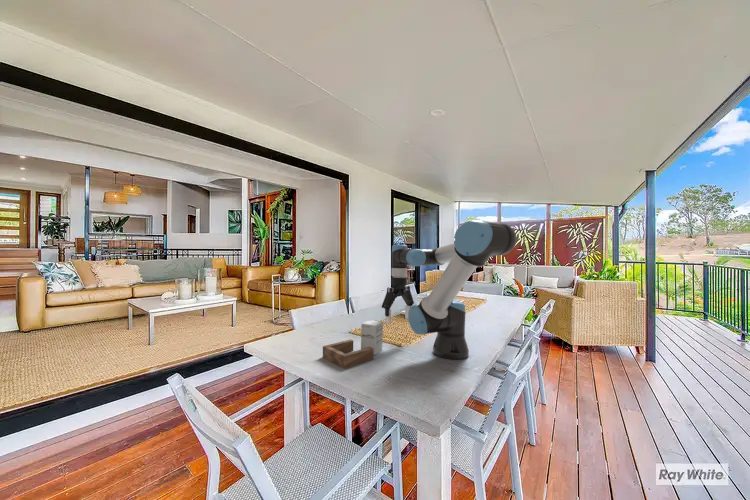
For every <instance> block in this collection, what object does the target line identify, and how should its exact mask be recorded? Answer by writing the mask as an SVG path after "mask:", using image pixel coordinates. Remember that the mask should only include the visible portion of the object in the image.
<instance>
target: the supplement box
mask: <svg viewBox="0 0 750 500" xmlns="http://www.w3.org/2000/svg"><path fill="white" fill-rule="evenodd" d="M360 327H361V328H360V329H361V333H360V334H361V336H360V350H361V349H365V348H368V347H371V348H373V356H374V355H377V354H378V353H380V352H382V351H383V339H384V338H383V336H384V335H383V334H384V333H383V330H384V322H383V321H376V320H366V321H364V322H362V323H361V326H360Z"/></svg>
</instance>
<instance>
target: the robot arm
mask: <svg viewBox="0 0 750 500" xmlns="http://www.w3.org/2000/svg"><path fill="white" fill-rule="evenodd" d="M453 239H454V240H453V243H450V244H447V245H444V246H441V247H440V246H439V247H437V248H433V249H428V248H427V249H425V248H424V249H423V248H422V249H420V248H408V245H407V244H393V245H392V246H391V275H390V276H391V278H390V284H391V287H387V288H386V293H385V296H384V299H383V301H382V305H381V308H382V309H384V315H385V323H386V324H390V325H391V323H392V309H391V308H392V306H393V304H394V302H395V300H396V299H397V298H398V297H401V298H402V299H403V301H404V303H405V305H404V319H407V320H408V324H409V326H410V329H411V330H412V331H413V332H414V334H417V335H428V334H434V333H437V334H436V338H435V339H434V343H433V344H432V345H433V346H432V352H433V354H434V355H436V356H438V357H440V358H443V359H444V358H445V359H448V360H449V359H450V360H462V359H466V358H468V357H469V356H470V355H469V346H468V343H467V340H466V336H465V335H466V333H465V332H466V313H467V312H466V304H464V303H463V302H461V301H458V300H455V299H456V297H457V296H458V295H459V293H460V291H462V289H463V287H464V286H465V285H466V283H467V281H468V280H469V278H470V277H471V276H472V274H473V273H474V271H475V270H476V269H477V268H480V267H483V266H485V264H486V263H487V261H488V260H489V259H490V257H495V256H499V257H500V256H504V255H507V254H509V253H510V252H511V251H513V249H514V248H515V246H516V245H517V234H516V231H515V229H514V228H512V226H510V225H509V224H507V223H505V222H499V221H497V222H496V221H488V220H487V221H486V220H482V219H475V220H474V219H473V220H472V219H471V220H467V221H464V222H463V223H461V224H460V225H459V227H457V229H456V231H455V233H454V237H453ZM446 263H447V264H448V265H447V266H446V268H445V270H444V271H443V273H442V274H441V276H440V278H439V279H438V281H437V282H436V284H435V286H434V287H433V288H432V290H431V292H430V294H429V295H426V296H424V297H423V298H422V299H421V301H420V302H419V304H417V305H414V304H415V302H414V298H413V295H412V292H411V286H409V285H407V284H408V283H407V282H408V278H407V277H408V266H411V267H420V266H424V267H425V266H436V267H438V266H443V265H445V264H446ZM467 356H468V357H467Z"/></svg>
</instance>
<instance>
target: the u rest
mask: <svg viewBox="0 0 750 500" xmlns="http://www.w3.org/2000/svg"><path fill="white" fill-rule="evenodd" d="M322 358H324V359H326V360H327V361H329V362H331V363H333V364H334V365H337V366H339V367H341V368H343V369H345V370H346V368H347V369H348V368H350V367H353V366H356V365H359V364H363V363H366V362H368V361H372V360H374V354H373V348H371V347H368V348H365V349H361V348H360V349H358V350H355V351H354V340H353V339H351V338H350V339H346V340H343V341H337V342H335V343H331V344H326V345H323V346H322Z"/></svg>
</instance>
